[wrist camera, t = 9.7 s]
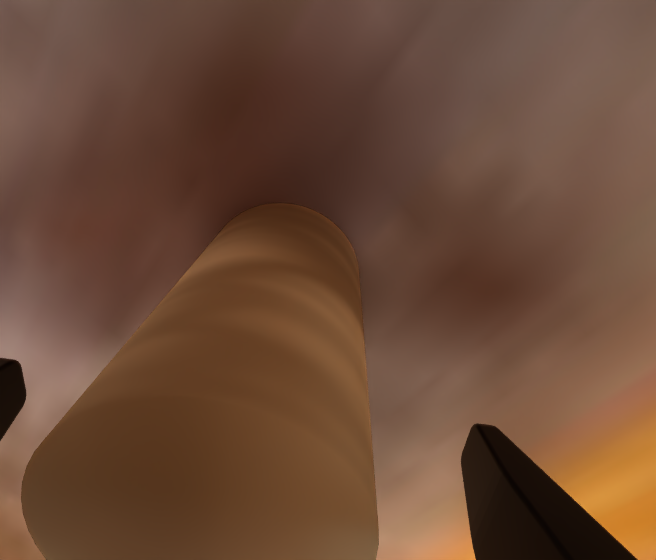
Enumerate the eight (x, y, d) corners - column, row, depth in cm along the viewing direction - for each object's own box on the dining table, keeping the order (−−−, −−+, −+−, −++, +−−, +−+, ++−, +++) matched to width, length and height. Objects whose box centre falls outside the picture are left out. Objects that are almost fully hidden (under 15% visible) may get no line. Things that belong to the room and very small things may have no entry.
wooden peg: (372, 215, 13) (414, 425, 5) (346, 350, 15) (347, 652, 7) (210, 191, 13) (-10, 368, 5) (206, 330, 15) (46, 617, 7)
